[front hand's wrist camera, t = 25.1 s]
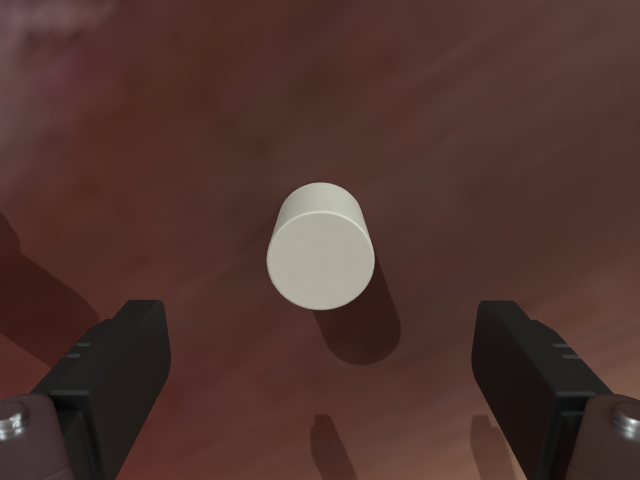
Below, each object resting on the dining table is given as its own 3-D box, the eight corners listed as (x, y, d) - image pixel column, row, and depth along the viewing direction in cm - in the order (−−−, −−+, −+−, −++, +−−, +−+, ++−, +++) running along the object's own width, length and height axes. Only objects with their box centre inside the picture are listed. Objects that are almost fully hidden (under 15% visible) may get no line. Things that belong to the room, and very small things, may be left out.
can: (263, 203, 20) (247, 237, 15) (343, 168, 19) (349, 193, 15) (299, 275, 21) (294, 325, 17) (375, 244, 20) (390, 287, 16)
